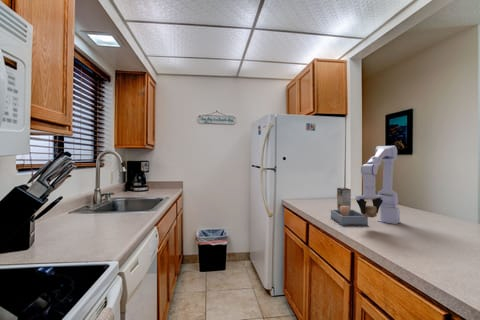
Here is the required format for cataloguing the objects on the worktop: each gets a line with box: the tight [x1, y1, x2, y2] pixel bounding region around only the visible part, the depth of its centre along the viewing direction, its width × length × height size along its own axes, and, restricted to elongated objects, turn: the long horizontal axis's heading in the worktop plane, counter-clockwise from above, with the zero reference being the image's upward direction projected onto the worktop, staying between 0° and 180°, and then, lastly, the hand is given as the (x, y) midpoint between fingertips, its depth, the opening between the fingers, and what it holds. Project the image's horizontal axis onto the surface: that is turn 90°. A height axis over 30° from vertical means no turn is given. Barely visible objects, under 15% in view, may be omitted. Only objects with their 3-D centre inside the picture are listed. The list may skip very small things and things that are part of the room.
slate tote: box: [330, 209, 369, 227], centre depth 144 cm, size 18×14×5 cm
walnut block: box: [361, 204, 378, 219], centre depth 127 cm, size 5×5×5 cm
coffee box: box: [336, 187, 352, 210], centre depth 172 cm, size 9×6×16 cm
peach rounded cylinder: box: [340, 206, 349, 216], centre depth 148 cm, size 5×5×7 cm
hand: (369, 213), depth 127 cm, fingers closed on walnut block, 7 cm apart
